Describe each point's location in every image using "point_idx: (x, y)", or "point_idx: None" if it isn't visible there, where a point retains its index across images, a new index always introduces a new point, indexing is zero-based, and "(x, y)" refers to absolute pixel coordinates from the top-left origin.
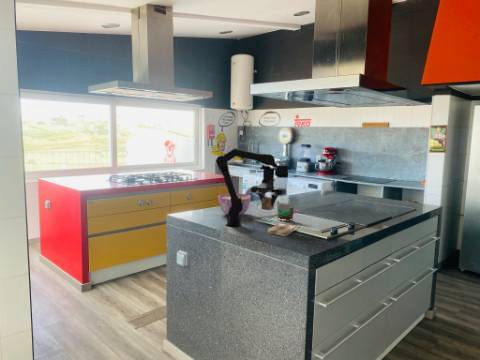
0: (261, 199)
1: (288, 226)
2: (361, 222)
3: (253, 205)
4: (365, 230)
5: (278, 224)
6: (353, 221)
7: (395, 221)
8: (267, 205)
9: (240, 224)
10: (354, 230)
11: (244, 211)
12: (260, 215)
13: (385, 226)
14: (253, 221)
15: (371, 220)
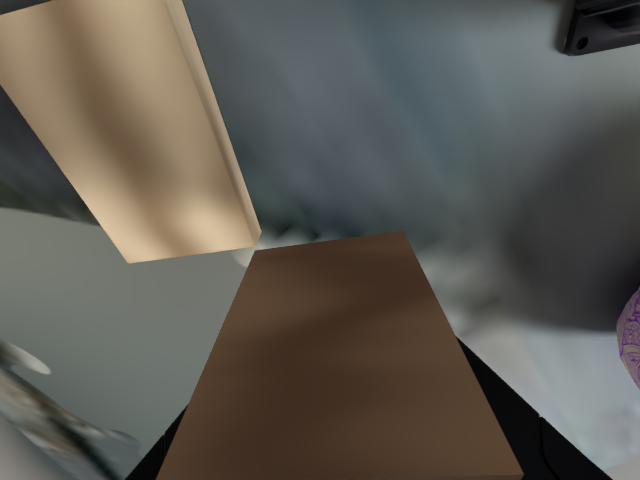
0: (518, 426)
1: (141, 221)
2: (115, 443)
3: (591, 440)
4: (9, 395)
5: (230, 218)
6: (138, 442)
7: (82, 475)
8: (288, 297)
9: (575, 27)
10: (21, 379)
11: (637, 311)
12: (494, 351)
13: (40, 442)
14: (486, 232)
15: (122, 463)
